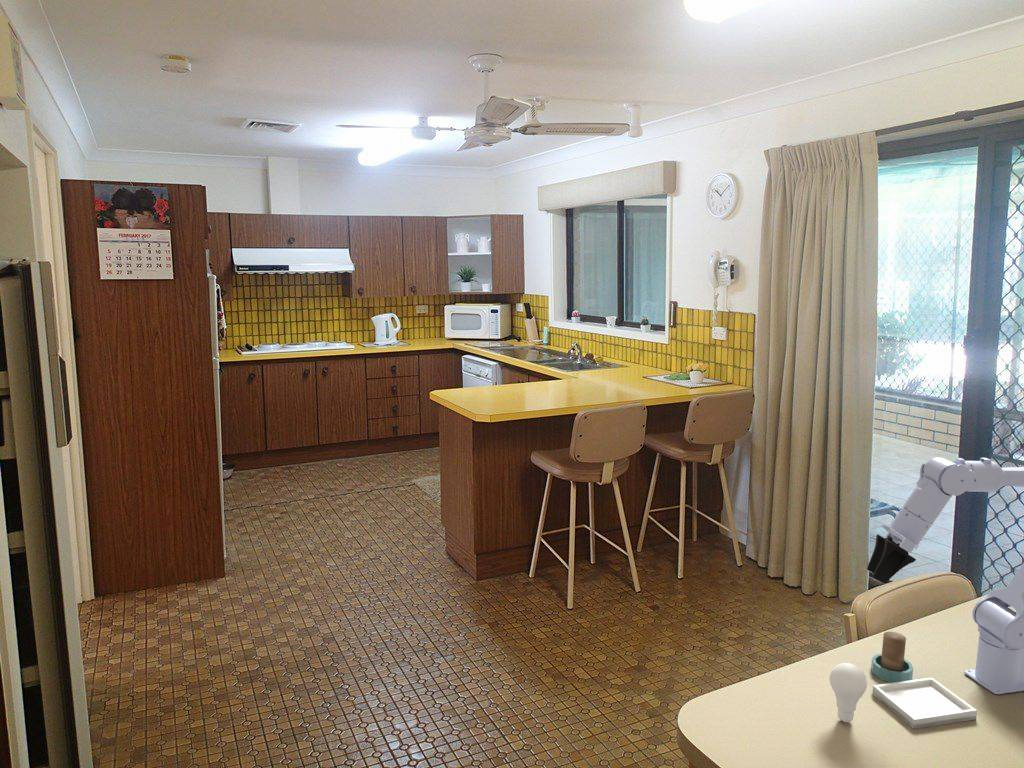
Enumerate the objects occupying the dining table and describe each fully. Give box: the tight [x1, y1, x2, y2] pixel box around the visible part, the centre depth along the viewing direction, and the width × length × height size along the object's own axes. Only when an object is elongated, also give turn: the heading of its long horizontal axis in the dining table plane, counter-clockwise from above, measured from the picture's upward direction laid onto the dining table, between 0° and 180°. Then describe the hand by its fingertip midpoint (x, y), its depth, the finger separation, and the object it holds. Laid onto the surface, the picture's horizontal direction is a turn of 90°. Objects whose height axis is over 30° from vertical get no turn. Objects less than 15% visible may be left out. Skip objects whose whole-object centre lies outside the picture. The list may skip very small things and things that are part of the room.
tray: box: [871, 677, 978, 730], centre depth 141 cm, size 13×11×2 cm
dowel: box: [881, 631, 907, 672], centre depth 151 cm, size 4×4×8 cm
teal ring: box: [870, 653, 914, 683], centre depth 152 cm, size 7×7×2 cm
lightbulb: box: [829, 662, 868, 723], centre depth 135 cm, size 6×6×11 cm
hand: (875, 576), depth 143 cm, fingers open, 7 cm apart
